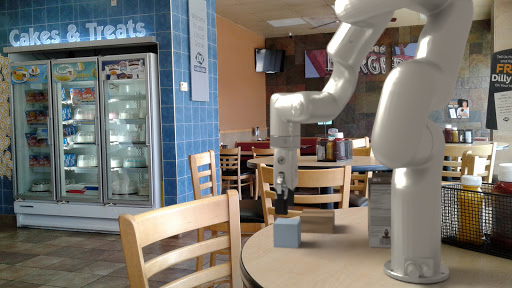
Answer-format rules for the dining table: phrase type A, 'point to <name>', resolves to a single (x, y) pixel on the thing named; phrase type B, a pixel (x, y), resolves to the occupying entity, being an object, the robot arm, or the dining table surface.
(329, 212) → the walnut block
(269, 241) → the dining table surface
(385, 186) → the coffee box
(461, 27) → the robot arm
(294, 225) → the slate cube
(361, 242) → the dining table surface
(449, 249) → the dining table surface
